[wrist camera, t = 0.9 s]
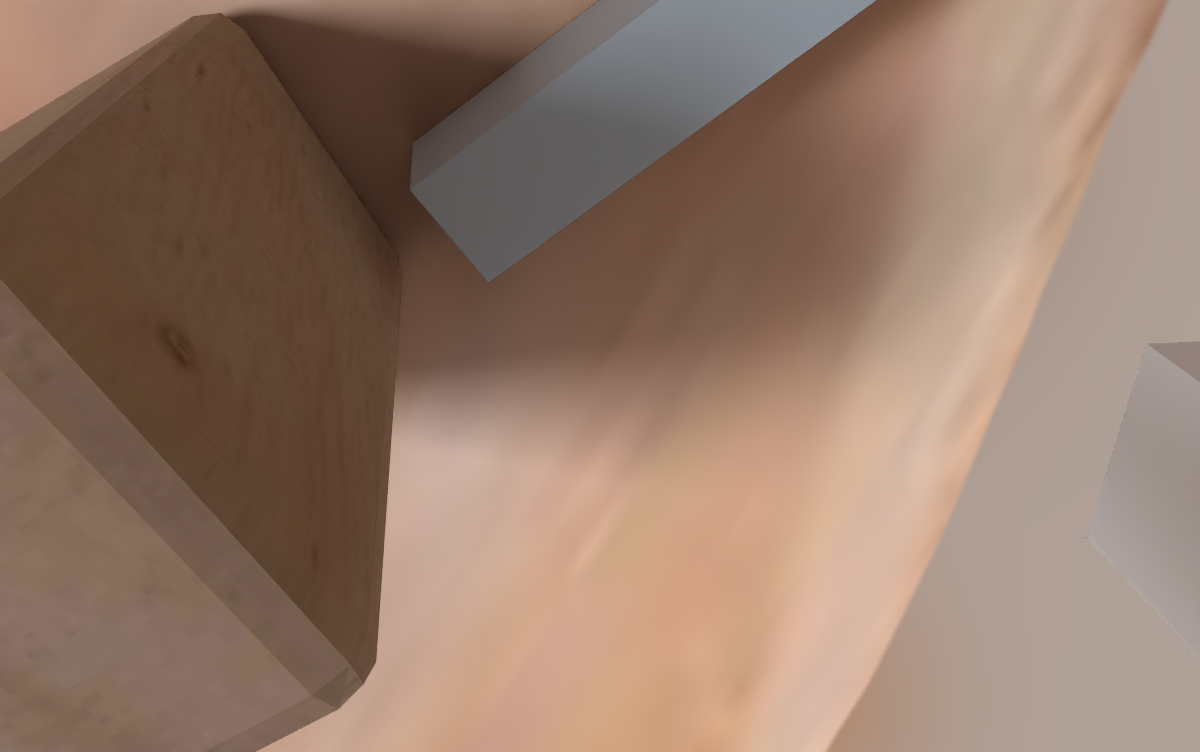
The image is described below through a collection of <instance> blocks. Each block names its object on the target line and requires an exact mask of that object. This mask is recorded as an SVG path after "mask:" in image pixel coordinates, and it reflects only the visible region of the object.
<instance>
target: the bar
mask: <svg viewBox="0 0 1200 752" xmlns="http://www.w3.org/2000/svg"><path fill="white" fill-rule="evenodd" d="M875 1H876V0H598V1H597V2H596V3H595V4H593V5H592V6H591V7H589V8H588V9H587V10H585V11H584V12H583V13H582V14H580V15H579V16H578V17H576V18H575V19H574V20H572V21H571V22H570V23H569V24H567V25H566V26H565V27H563V28H562V29H561V30H559V31H558V32H557V33H556V34H554V35H553V36H552V37H550V38H549V39H548V40H546V41H545V42H544V43H543V44H541V45H540V46H539V47H537V48H536V49H535V50H533V51H532V52H531V53H529V54H528V55H527V56H526V57H524V58H523V59H522V60H520V61H519V62H518V63H516V64H515V65H514V66H513V67H511V68H510V69H509V70H507V71H506V72H505V73H503V74H502V75H501V76H500V77H498V78H497V79H496V80H494V81H493V82H492V83H490V84H489V85H488V86H487V87H485V88H484V89H483V90H481V91H480V92H479V93H477V94H476V95H475V96H474V97H472V98H471V99H470V100H468V101H467V102H466V103H464V104H463V105H462V106H460V107H459V108H458V109H457V110H455V111H454V112H453V113H451V114H450V115H449V116H447V117H446V118H445V119H444V120H442V121H441V122H440V123H438V124H437V125H436V126H434V127H433V128H432V129H431V130H429V131H428V132H427V133H425V134H424V135H423V136H421V137H420V138H419V139H418V140H416V141H415V142H414V143H413V149H412V165H411V180H410V191H411V192H412V193H413V195H414V196H415V197H416V198H417V199H418V200H419V202H420V203H421V204H422V205H423V206H424V208H425V209H426V210H427V211H428V212H429V213H430V215H431V216H432V217H433V218H434V219H435V221H436V222H437V223H438V224H439V225H440V226H441V228H442V229H443V230H444V231H445V232H446V234H447V235H448V236H449V237H450V238H451V239H452V241H453V242H454V243H455V244H456V245H457V247H458V248H459V249H460V250H461V251H462V252H463V254H464V255H465V256H466V257H467V258H468V260H469V261H470V262H471V263H472V264H473V265H474V267H475V268H476V269H477V270H478V271H479V272H480V274H481V275H482V276H483V277H484V278H485V280H486V281H487V282H488V283H489V282H491V281H492V280H493V279H495V278H496V277H498V276H499V275H500V274H502V273H503V272H504V271H506V270H507V269H509V268H510V267H511V266H513V265H514V264H515V263H517V262H518V261H520V260H521V259H522V258H524V257H525V256H526V255H528V254H529V253H530V252H532V251H533V250H535V249H536V248H537V247H539V246H540V245H541V244H543V243H544V242H546V241H547V240H548V239H550V238H551V237H552V236H554V235H555V234H557V233H558V232H559V231H561V230H562V229H563V228H565V227H566V226H568V225H569V224H570V223H572V222H573V221H574V220H576V219H577V218H578V217H580V216H581V215H583V214H584V213H585V212H587V211H588V210H589V209H591V208H592V207H594V206H595V205H596V204H598V203H599V202H600V201H602V200H603V199H605V198H606V197H607V196H609V195H610V194H611V193H613V192H614V191H615V190H617V189H618V188H620V187H621V186H622V185H624V184H625V183H626V182H628V181H629V180H631V179H632V178H633V177H635V176H636V175H637V174H639V173H640V172H642V171H643V170H644V169H646V168H647V167H648V166H650V165H651V164H653V163H654V162H655V161H657V160H658V159H659V158H661V157H662V156H663V155H665V154H666V153H668V152H669V151H670V150H672V149H673V148H674V147H676V146H677V145H679V144H680V143H681V142H683V141H684V140H685V139H687V138H688V137H690V136H691V135H692V134H694V133H695V132H696V131H698V130H699V129H701V128H702V127H703V126H705V125H706V124H707V123H709V122H710V121H711V120H713V119H714V118H716V117H717V116H718V115H720V114H721V113H722V112H724V111H725V110H727V109H728V108H729V107H731V106H732V105H733V104H735V103H736V102H738V101H739V100H740V99H742V98H743V97H744V96H746V95H747V94H748V93H750V92H751V91H753V90H754V89H755V88H757V87H758V86H759V85H761V84H762V83H764V82H765V81H766V80H768V79H769V78H770V77H772V76H773V75H775V74H776V73H777V72H779V71H780V70H781V69H783V68H784V67H786V66H787V65H788V64H790V63H791V62H792V61H794V60H795V59H796V58H798V57H799V56H801V55H802V54H803V53H805V52H806V51H807V50H809V49H810V48H812V47H813V46H814V45H816V44H817V43H818V42H820V41H821V40H823V39H824V38H825V37H827V36H828V35H829V34H831V33H832V32H833V31H835V30H836V29H838V28H839V27H840V26H842V25H843V24H844V23H846V22H847V21H849V20H850V19H851V18H853V17H854V16H855V15H857V14H858V13H860V12H861V11H862V10H864V9H865V8H866V7H868V6H869V5H871V4H872V3H873V2H875Z"/></svg>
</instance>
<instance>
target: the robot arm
mask: <svg viewBox="0 0 1200 752" xmlns="http://www.w3.org/2000/svg"><path fill="white" fill-rule="evenodd" d="M1086 538H1087V539H1088V540H1089V541H1090V543H1091V544H1092V545H1093V546H1094V547H1095V548H1096V549H1097V550H1098V551H1099V552H1100V553H1101V554H1102V555H1103V557H1105V559H1106V560H1107V561H1108V562H1109V563H1110V564H1111V565H1112V566H1113V567H1114V568H1115V570H1116V571H1117V572H1118V573H1119V574H1120V575H1121V576H1122V577H1123V578H1124V579H1125V580H1126V581H1127V582H1128V584H1129V585H1130V586H1131V587H1132V588H1133V589H1134V590H1135V591H1136V592H1137V593H1138V594H1139V595H1140V596H1141V598H1142V599H1143V600H1144V601H1145V602H1146V603H1147V604H1148V605H1149V606H1150V607H1151V608H1152V609H1153V610H1154V611H1155V612H1156V614H1157V615H1158V616H1159V617H1160V618H1161V619H1162V620H1163V621H1164V622H1165V623H1166V624H1167V625H1168V627H1170V629H1171V630H1172V631H1173V632H1174V633H1175V634H1176V635H1177V636H1178V637H1179V638H1180V640H1182V642H1183V643H1184V644H1185V645H1186V646H1187V647H1188V648H1189V649H1190V650H1191V651H1192V652H1193V653H1194V655H1195V656H1196V657H1197V658H1198V659H1199V660H1200V342H1179V343H1151V344H1146V346H1145V349H1144V353H1143V356H1142V359H1141V362H1140V366H1139V369H1138V372H1137V375H1136V378H1135V382H1134V385H1133V388H1132V391H1131V395H1130V398H1129V401H1128V404H1127V407H1126V411H1125V414H1124V417H1123V421H1122V423H1121V427H1120V430H1119V433H1118V436H1117V440H1116V443H1115V446H1114V450H1113V452H1112V456H1111V459H1110V462H1109V465H1108V469H1107V472H1106V475H1105V478H1104V481H1103V485H1102V488H1101V491H1100V494H1099V498H1098V501H1097V504H1096V507H1095V510H1094V514H1093V517H1092V520H1091V524H1090V527H1089V530H1088V533H1087V536H1086Z"/></svg>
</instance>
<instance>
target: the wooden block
mask: <svg viewBox="0 0 1200 752" xmlns="http://www.w3.org/2000/svg"><path fill="white" fill-rule="evenodd" d="M401 289H402V274H401V269H400V264H399V259H398V255H397V254H396V252H395V251H394V250H393V248H392V247H391V245H390V244H389V242H388V241H387V239H386V238H385V236H384V235H383V233H382V232H381V230H380V229H379V227H378V226H377V224H376V223H375V222H374V220H373V219H372V217H371V216H370V214H369V213H368V211H367V210H366V208H365V207H364V205H363V204H362V202H361V201H360V199H359V198H358V196H357V195H356V194H355V192H354V191H353V189H352V188H351V186H350V185H349V183H348V182H347V180H346V179H345V177H344V176H343V174H342V173H341V171H340V170H339V168H338V167H337V166H336V164H335V163H334V161H333V160H332V158H331V157H330V155H329V154H328V152H327V151H326V149H325V148H324V146H323V145H322V143H321V142H320V140H319V139H318V138H317V136H316V135H315V133H314V132H313V130H312V129H311V127H310V126H309V124H308V123H307V121H306V120H305V118H304V117H303V115H302V114H301V112H300V111H299V110H298V108H297V107H296V105H295V104H294V102H293V101H292V99H291V98H290V96H289V95H288V93H287V92H286V90H285V89H284V87H283V86H282V84H281V83H280V81H279V80H278V79H277V77H276V76H275V74H274V73H273V71H272V70H271V68H270V67H269V65H268V64H267V62H266V61H265V59H264V58H263V56H262V55H261V53H260V52H259V51H258V49H257V48H256V46H255V45H254V43H253V42H252V40H251V39H250V37H249V36H248V34H247V33H246V31H245V30H243V29H242V28H241V27H239V26H238V25H237V24H235V23H234V22H232V21H231V20H230V19H228V18H227V17H226V16H224V15H223V14H221V13H218V14H209V15H200V16H193V17H191V18H190V19H188V20H186V21H185V22H183V23H182V24H180V25H178V26H177V27H175V28H173V29H172V30H170V31H168V32H167V33H165V34H163V35H162V36H160V37H158V38H157V39H155V40H153V41H152V42H150V43H148V44H147V45H145V46H143V47H142V48H140V49H138V50H137V51H135V52H133V53H132V54H130V55H128V56H127V57H125V58H123V59H122V60H120V61H119V62H117V63H115V64H114V65H112V66H110V67H109V68H107V69H105V70H104V71H102V72H100V73H99V74H97V75H95V76H94V77H92V78H90V79H89V80H87V81H85V82H84V83H82V84H80V85H79V86H77V87H75V88H74V89H72V90H70V91H69V92H67V93H65V94H64V95H62V96H60V97H59V98H57V99H56V100H54V101H52V102H51V103H49V104H47V105H46V106H44V107H42V108H41V109H39V110H37V111H36V112H34V113H32V114H31V115H29V116H27V117H26V118H24V119H22V120H21V121H19V122H17V123H16V124H14V125H12V126H11V127H9V128H7V129H6V130H4V131H2V132H1V133H0V752H256V751H258V750H260V749H262V748H264V747H266V746H268V745H269V744H271V743H273V742H275V741H277V740H279V739H281V738H283V737H285V736H287V735H289V734H291V733H293V732H295V731H297V730H299V729H301V728H303V727H305V726H306V725H308V724H310V723H312V722H314V721H316V720H318V719H320V718H322V717H324V716H326V715H328V714H330V713H332V712H334V711H336V710H338V709H339V708H340V707H341V706H342V705H343V704H344V703H345V702H346V701H347V700H348V699H349V698H350V697H351V696H352V695H353V694H354V693H355V692H356V691H357V690H358V689H359V688H360V687H361V686H362V685H363V684H364V682H365V681H366V679H367V677H368V675H369V673H370V672H371V670H372V668H373V666H374V664H375V663H376V655H377V641H378V626H379V611H380V597H381V582H382V567H383V553H384V538H385V523H386V509H387V494H388V479H389V465H390V450H391V435H392V421H393V406H394V391H395V377H396V362H397V347H398V333H399V318H400V303H401Z"/></svg>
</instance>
